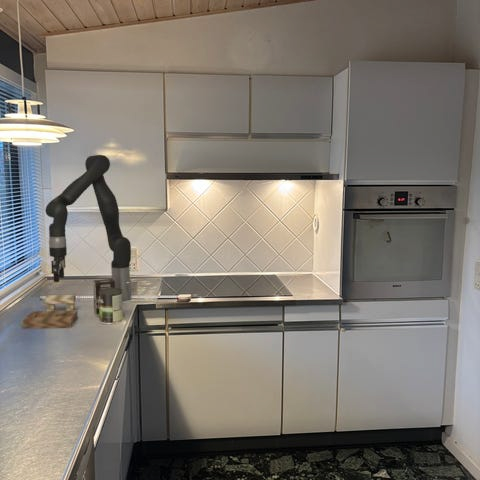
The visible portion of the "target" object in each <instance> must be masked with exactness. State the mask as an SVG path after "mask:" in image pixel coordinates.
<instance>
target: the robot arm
mask: <svg viewBox="0 0 480 480" xmlns="http://www.w3.org/2000/svg"><path fill="white" fill-rule="evenodd" d="M110 168H111V162H110V159H109V158H108V157H107V156H106V155H103V154H97V155H95V154H94V155H90V156H87V158H86V160H85V169H86V171H85V172H84V173H83V174H82V175H80V176H79V177H78V178H76V179H75V180H74V181H72V182H71V183H70V184H69V185H68V186H66V187H65V189H64V190H63V191H62V192H61V193H60V194H59V195H58V196H55V197H54V198H53V199H52V200H50V202H48V203H47V205H46V207H45V209H44V210H45V213H46V216H48V217H49V218H53V220H52V223H50V224H49V226H48V234H49V238H48V247H49V250H48V251H49V256H50V257H51V258H53V260H51V274H53V282H55V283H58V282H60V279H61V278H62V279H64V277H65V268H66V256H67V252H68V251H67V238H66V237H67V235H66V225H67V221H68V217H69V216H68V215H69V213H68V208H67V207H68V206H71V205H73V204H75V202H76V201H77V200H79V198H80V197H81V195H82V194H84V193H85V191H86V190H87V189H88V188H89V187H91V185H92V188H93V191H94V194H95V198H96V202H97V206H98V209H99V212H100V217H101V219H102V222H103V224H104V227H105V228H104V229H105V232H106V237H107V244H108V247H109V249H110V250H111V252H112V253H113V254H112V256H113V257H112V258H113V260H112V261H111V263H110V264H111V279H113V280H114V281H115V288H119V289H122V302H123V301H130V300H131V299H132V298H131V297H132V283H131V282H132V280H131V273H130V272H131V270H130V269H131V267H130V266H131V261H132V256H131V255H132V249H131V248H132V247H131V246H132V245H131V241H130V240H129V238H128V237H126V236H125V237H124V236H123V233H122V230H121V227H120V211H119V206H118V205H119V204H118V202H117V199H116V196H115V194H114V193H113V191H112V190H111V188H110V187H109V185H108V184H107V182H106V179H105V177H104V174H106V173H107V172H108V171H109V169H110Z"/></svg>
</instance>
